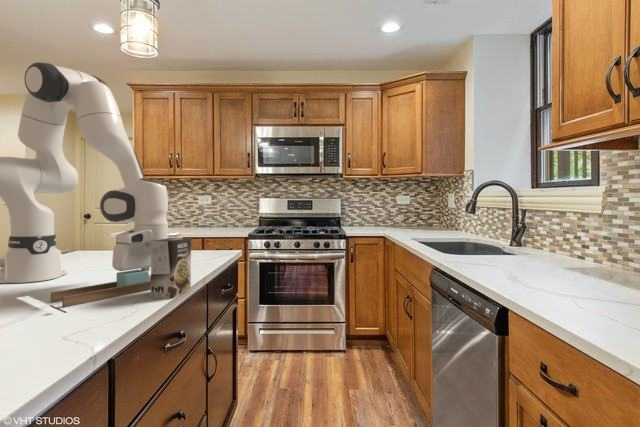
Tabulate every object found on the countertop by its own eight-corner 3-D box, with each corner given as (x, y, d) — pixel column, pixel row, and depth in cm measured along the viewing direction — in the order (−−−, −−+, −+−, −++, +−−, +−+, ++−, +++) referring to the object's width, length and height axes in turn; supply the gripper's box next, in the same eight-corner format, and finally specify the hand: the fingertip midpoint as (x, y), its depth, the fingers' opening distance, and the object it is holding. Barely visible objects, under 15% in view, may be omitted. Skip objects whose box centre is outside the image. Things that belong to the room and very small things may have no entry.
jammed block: (116, 290, 97) (116, 272, 97) (137, 286, 102) (138, 269, 102) (126, 293, 94) (126, 275, 94) (147, 289, 99) (147, 271, 99)
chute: (50, 306, 86) (50, 292, 86) (145, 287, 106) (145, 276, 106) (64, 312, 81) (64, 297, 81) (161, 292, 101) (161, 280, 101)
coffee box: (171, 303, 90) (172, 240, 90) (149, 301, 91) (150, 239, 91) (191, 294, 99) (192, 237, 98) (171, 293, 100) (171, 236, 100)
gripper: (176, 231, 113) (176, 274, 113) (109, 236, 96) (109, 286, 96) (188, 233, 109) (188, 277, 110) (121, 237, 92) (121, 290, 93)
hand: (150, 281), depth 103 cm, fingers closed
